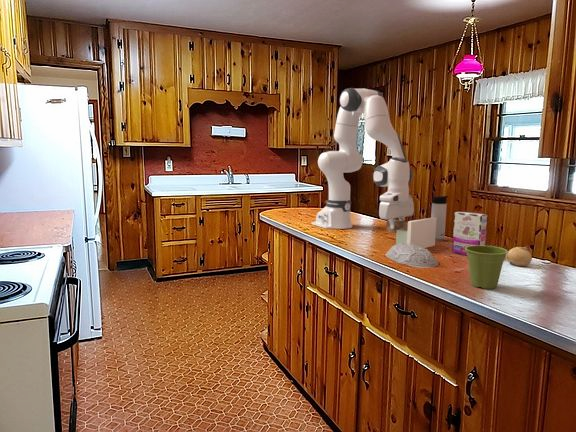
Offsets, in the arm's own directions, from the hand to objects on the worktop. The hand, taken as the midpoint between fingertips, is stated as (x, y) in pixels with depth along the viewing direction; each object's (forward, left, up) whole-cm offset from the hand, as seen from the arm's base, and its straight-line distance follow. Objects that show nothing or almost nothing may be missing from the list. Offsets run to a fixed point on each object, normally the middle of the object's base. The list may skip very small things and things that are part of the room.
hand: (396, 227), depth 191 cm
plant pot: (+53, -29, -7) cm, 61 cm away
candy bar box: (+30, +5, -7) cm, 32 cm away
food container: (+21, -19, -7) cm, 29 cm away
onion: (+49, +5, -7) cm, 50 cm away
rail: (+3, 0, -2) cm, 4 cm away
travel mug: (+7, +21, -7) cm, 23 cm away
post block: (+9, 0, -7) cm, 11 cm away
